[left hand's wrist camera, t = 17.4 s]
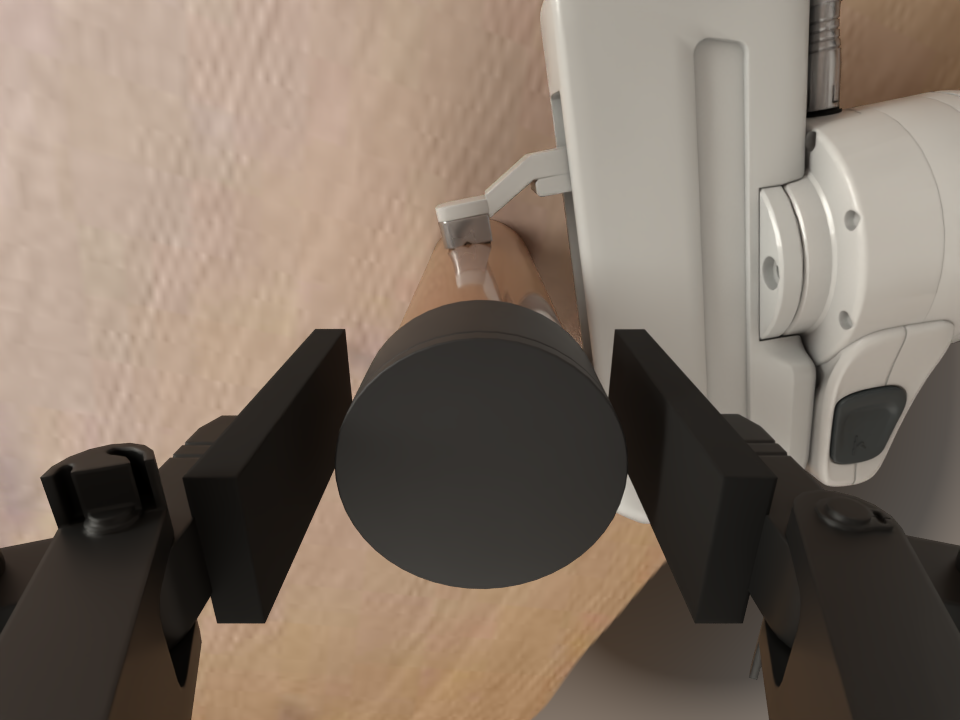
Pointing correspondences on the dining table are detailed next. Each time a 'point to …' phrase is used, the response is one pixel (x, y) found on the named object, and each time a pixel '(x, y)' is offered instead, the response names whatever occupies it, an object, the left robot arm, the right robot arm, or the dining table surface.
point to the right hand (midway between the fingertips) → (458, 310)
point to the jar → (482, 276)
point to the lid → (481, 448)
